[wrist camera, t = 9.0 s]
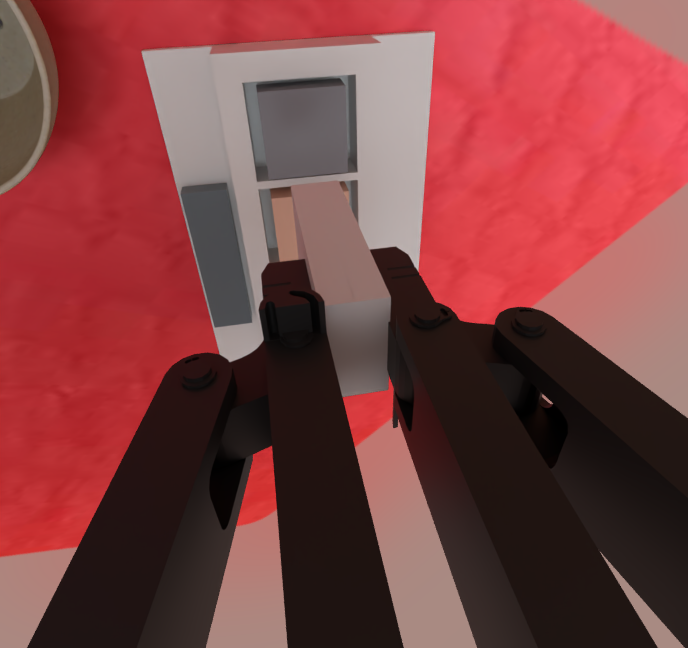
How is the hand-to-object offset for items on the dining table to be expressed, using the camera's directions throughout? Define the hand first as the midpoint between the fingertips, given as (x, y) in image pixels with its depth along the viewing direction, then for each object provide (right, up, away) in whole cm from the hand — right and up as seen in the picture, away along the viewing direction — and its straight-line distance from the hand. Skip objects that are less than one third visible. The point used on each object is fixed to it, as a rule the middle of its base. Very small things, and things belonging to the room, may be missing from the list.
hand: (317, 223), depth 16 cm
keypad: (-1, +2, +14) cm, 15 cm away
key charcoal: (-1, +7, +9) cm, 12 cm away
